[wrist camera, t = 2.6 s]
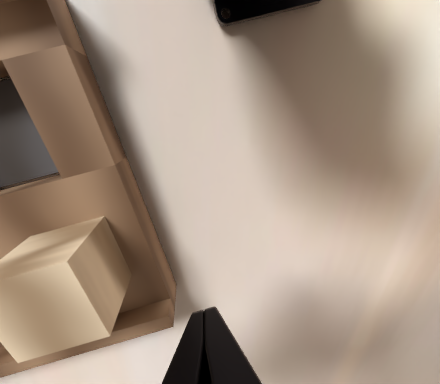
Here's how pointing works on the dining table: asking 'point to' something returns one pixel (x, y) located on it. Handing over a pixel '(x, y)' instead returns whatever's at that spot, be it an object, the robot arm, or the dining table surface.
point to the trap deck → (70, 165)
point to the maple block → (61, 289)
